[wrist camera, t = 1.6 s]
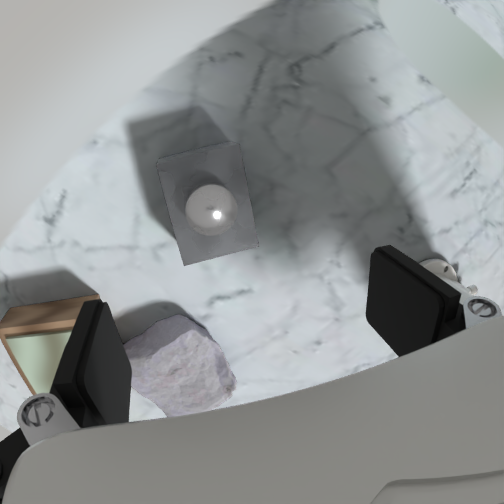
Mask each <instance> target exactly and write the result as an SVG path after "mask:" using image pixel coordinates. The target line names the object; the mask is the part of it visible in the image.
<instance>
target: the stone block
mask: <svg viewBox="0 0 504 504" xmlns="http://www.w3.org/2000/svg"><path fill="white" fill-rule="evenodd" d="M123 346H124V349H125V351H126V354H127V356H128V359H129V361H130V364H131V368H132V380H131V387H132V388H133V389H134V390H136V391H137V392H138V393H139V394H141V395H142V396H144V397H145V398H148V399H150V400H151V401H153V402H154V403H155V404H156V405H157V406H158V407H159V408H160V409H162V410H163V412H164V413H165V415H166V416H167V417H173V416H180V415H186V414H193V413H198V412H204V411H209V410H212V409H214V408H216V407H218V406H219V405H221V404H222V403H223V402H225V401H226V400H228V399H229V398H230V397H232V392H233V391H234V390H236V384H237V381H236V378H235V376H234V374H233V373H232V371H231V369H230V367H229V363H228V362H227V361H226V358H225V356H224V353H223V352H222V350H221V348H220V346H219V345H218V343H217V342H216V341H215V340H213V338H212V336H211V335H210V334H209V333H208V331H207V330H206V329H204V328H202V327H200V326H199V325H197V324H196V323H195V322H193V321H191V320H190V319H188V318H187V317H185V316H183V315H180V314H178V315H174V316H172V317H169V318H166V319H162V320H160V321H157V322H156V323H155V324H154V325H153V326H151V327H150V328H148V329H147V330H146V331H145V332H144V333H143V334H141V335H139V336H136V337H134V338H132V339H131V340H129V341H128V342H126V343H125V344H124V345H123Z"/></svg>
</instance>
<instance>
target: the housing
mask: <svg viewBox="0 0 504 504" xmlns="http://www.w3.org/2000/svg"><path fill="white" fill-rule="evenodd" d="M156 166H157V170H158V174H159V178H160V182H161V185H162V189H163V193H164V197H165V201H166V204H167V208H168V212H169V216H170V219H171V223H172V226H173V230H174V233H175V237H176V240H177V244H178V247H179V251H180V254H181V258H182V261H183V264H184V266H186V265H190V264H194V263H198V262H201V261H205V260H209V259H213V258H216V257H220V256H224V255H228V254H232V253H235V252H239V251H243V250H247V249H251V248H254V247H258V246H259V242H258V237H257V232H256V227H255V221H254V216H253V211H252V206H251V201H250V195H249V190H248V185H247V180H246V175H245V170H244V165H243V159H242V154H241V149H240V144H238V143H234V142H231V141H229V142H224V143H220V144H215V145H211V146H207V147H202V148H198V149H194V150H190V151H186V152H182V153H178V154H174V155H170V156H167V157H163V158H159V160H158V162H157V164H156Z"/></svg>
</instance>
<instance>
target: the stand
mask: <svg viewBox="0 0 504 504" xmlns="http://www.w3.org/2000/svg"><path fill="white" fill-rule="evenodd" d="M95 299H100V296H99V294H97V295H90V296H84V297H78V298H72V299H65V300H59V301H53V302H46V303H40V304H33V305H27V306H20V307H13V308H10V309H9V310H8V312H7V313H6V315H5V316H4V317H3V319H2V320H1V322H0V339H1V341H2V343H3V345H4V347H5V348H6V350H7V352H8V354H9V356H10V358H11V359H12V361H13V363H14V365H15V367H16V368H17V370H18V372H19V373H20V375H21V377H22V378H23V380H24V382H25V383H26V385H27V386H28V388H29V390H30V391H31V393H32V394H33V395H35V394H39V393H49V392H50V389H51V386H52V383H53V380H54V377H55V374H56V371H57V368H58V365H59V362H60V359H61V357H62V354H63V351H64V348H65V346H66V344H67V342H68V340H69V337H70V335H71V332H72V329H73V327H74V324H75V322H76V319H77V317H78V314H79V312H80V310H81V307H82V305H83V303H84V301H89V300H95Z"/></svg>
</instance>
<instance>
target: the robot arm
mask: <svg viewBox="0 0 504 504" xmlns="http://www.w3.org/2000/svg"><path fill="white" fill-rule="evenodd" d="M477 290H478V289H477V287H476V286H475V285H472V286H469V287H467V288H466V287H464V286H463V285H461V284H460V283H458V282H457V275H456V272H455V270H454V268H453V267H452V266H451V265H450V264H448V263H447V262H445V261H444V260H441V259H429V260H425V261H423V262H421V263H417V262H416V261H414V260H413V259H411V258H410V257H408V256H407V255H405V254H404V253H402V252H400V251H399V250H397V249H396V248H394V247H393V246H391V245H387V246H382V247H377V248H376V249H375V250H374V252H373V253H372V254H371V259H370V273H369V285H368V296H367V307H366V319H367V321H368V323H369V324H370V325H371V326H372V327H373V328H374V329H375V331H376V332H377V333H378V334H379V335H380V336H381V337H382V338H383V339H384V341H385V342H386V343H387V344H388V345H389V346H390V347H391V348H392V349H393V351H394V352H395V353H396V354H397V355H398V356H399V357H398V358H396V359H393V360H390V361H388V362H385V363H382V364H380V365H377V366H374V367H371V368H369V369H366V370H363V371H360V372H357V373H354V374H351V375H348V376H345V377H342V378H339V379H335V380H332V381H329V382H326V383H322V384H319V385H316V386H312V387H309V388H305V389H302V390H298V391H294V392H290V393H287V394H283V395H279V396H275V397H271V398H267V399H262V400H258V401H254V402H249V403H245V404H240V405H235V406H230V407H225V408H220V409H215V410H210V411H204V412H198V413H193V414H186V415H180V416H173V417H166V418H158V419H150V420H142V421H134V422H129V406H130V392H131V380H132V368H131V364H130V361H129V359H128V356H127V354H126V351H125V349H124V346H123V344H122V341H121V339H120V336H119V333H118V331H117V328H116V325H115V322H114V320H113V317H112V314H111V311H110V308H109V306H108V304H107V302H104V303H103V302H102V300H101V299H95V300H89V301H84V303H83V305H82V307H81V310H80V312H79V314H78V317H77V319H76V322H75V324H74V327H73V329H72V332H71V335H70V337H69V340H68V342H67V344H66V346H65V348H64V351H63V354H62V357H61V359H60V362H59V365H58V368H57V371H56V374H55V377H54V380H53V383H52V386H51V389H50V392H49V393H39V394H35V395H33V396H31V397H29V398H28V399H27V400H25V401H24V402H23V404H22V405H21V406H20V408H19V410H18V412H17V421H18V424H19V426H20V428H19V429H17V430H16V431H15V432H13V433H12V434H11V435H9V436H8V437H6V438H5V439H4V440H2V441H1V442H0V504H504V316H502V313H501V310H500V308H499V306H498V305H497V304H496V303H495V302H493V301H492V300H490V299H488V298H485V297H480V296H473V295H475V294H477Z"/></svg>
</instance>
